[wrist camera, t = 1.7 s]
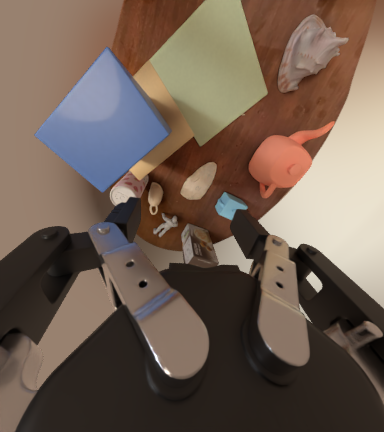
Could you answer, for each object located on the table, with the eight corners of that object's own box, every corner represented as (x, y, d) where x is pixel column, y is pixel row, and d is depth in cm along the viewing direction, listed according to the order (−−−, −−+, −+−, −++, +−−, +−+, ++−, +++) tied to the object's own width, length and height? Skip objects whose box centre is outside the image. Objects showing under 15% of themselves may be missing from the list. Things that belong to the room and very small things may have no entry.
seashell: (336, 37, 31) (392, 6, 23) (299, 102, 37) (333, 95, 29) (302, 9, 28) (351, -38, 20) (267, 84, 34) (295, 71, 26)
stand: (124, 126, 35) (86, 126, 20) (160, 91, 33) (148, 59, 17) (152, 160, 40) (139, 180, 25) (186, 132, 37) (194, 135, 22)
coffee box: (180, 235, 55) (182, 269, 42) (187, 222, 53) (192, 255, 39) (201, 241, 58) (209, 276, 45) (208, 230, 56) (220, 263, 42)
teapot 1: (247, 202, 51) (258, 212, 44) (237, 215, 53) (246, 227, 47) (219, 188, 47) (227, 198, 40) (210, 203, 49) (215, 215, 43)
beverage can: (127, 167, 40) (105, 185, 28) (147, 168, 41) (135, 185, 28) (130, 186, 43) (111, 210, 31) (149, 186, 44) (139, 210, 31)
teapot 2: (309, 135, 41) (354, 137, 31) (263, 194, 50) (286, 211, 39) (277, 108, 37) (316, 101, 27) (232, 178, 45) (250, 192, 35)
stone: (176, 191, 46) (177, 193, 44) (204, 153, 41) (205, 154, 39) (196, 203, 49) (196, 206, 47) (223, 170, 44) (225, 171, 42)
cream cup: (165, 185, 44) (164, 191, 40) (158, 207, 48) (157, 216, 44) (152, 181, 43) (149, 187, 39) (146, 204, 47) (143, 212, 43)
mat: (148, 62, 30) (148, 61, 30) (231, -27, 25) (231, -29, 25) (200, 146, 40) (200, 147, 39) (267, 93, 35) (268, 93, 35)
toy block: (113, 131, 21) (32, 135, 9) (148, 95, 19) (106, 44, 7) (138, 159, 23) (102, 193, 11) (172, 131, 22) (169, 134, 10)
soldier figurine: (167, 228, 56) (185, 214, 49) (164, 240, 53) (183, 227, 45) (153, 221, 54) (170, 204, 46) (148, 232, 50) (166, 217, 42)
